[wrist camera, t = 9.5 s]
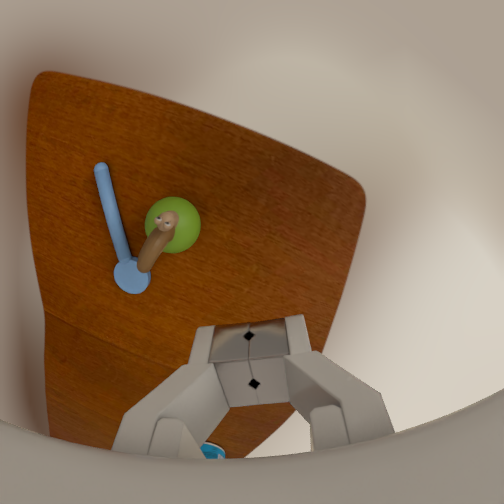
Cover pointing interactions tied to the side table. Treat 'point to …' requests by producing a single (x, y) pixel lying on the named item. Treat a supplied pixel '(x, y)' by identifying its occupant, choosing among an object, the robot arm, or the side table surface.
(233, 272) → the side table surface
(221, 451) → the beverage bottle
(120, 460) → the robot arm
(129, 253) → the blue spoon
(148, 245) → the snail figurine
